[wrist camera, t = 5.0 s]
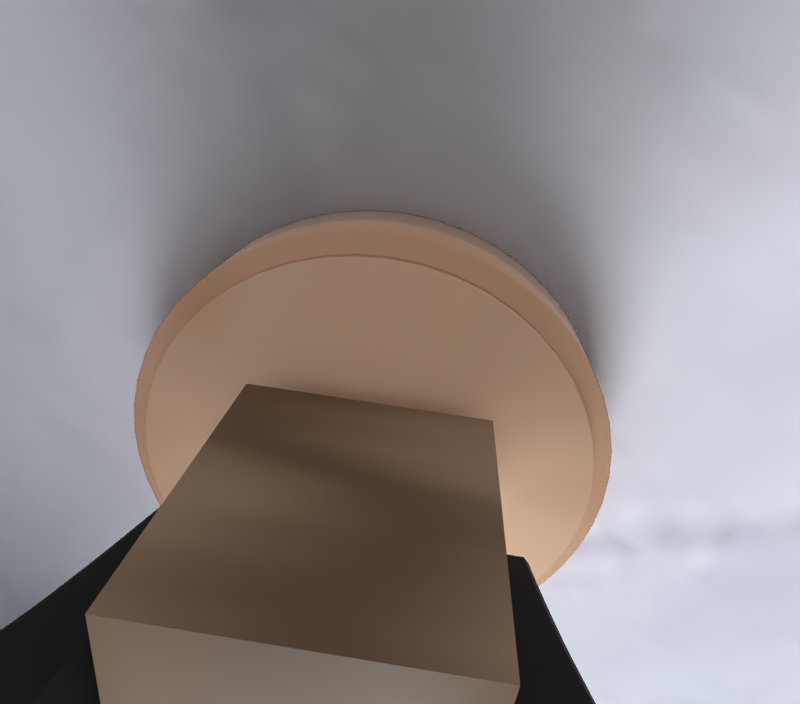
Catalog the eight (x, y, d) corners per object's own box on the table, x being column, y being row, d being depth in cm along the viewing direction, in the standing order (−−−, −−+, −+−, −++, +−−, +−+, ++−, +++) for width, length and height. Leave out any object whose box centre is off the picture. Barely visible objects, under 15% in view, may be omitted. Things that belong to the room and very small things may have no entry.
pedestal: (181, 545, 16) (146, 604, 14) (155, 178, 12) (101, 197, 10) (538, 602, 16) (548, 670, 14) (652, 248, 11) (689, 281, 9)
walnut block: (246, 564, 12) (124, 842, 8) (247, 383, 10) (85, 614, 6) (453, 598, 12) (449, 900, 8) (492, 420, 10) (520, 685, 6)
